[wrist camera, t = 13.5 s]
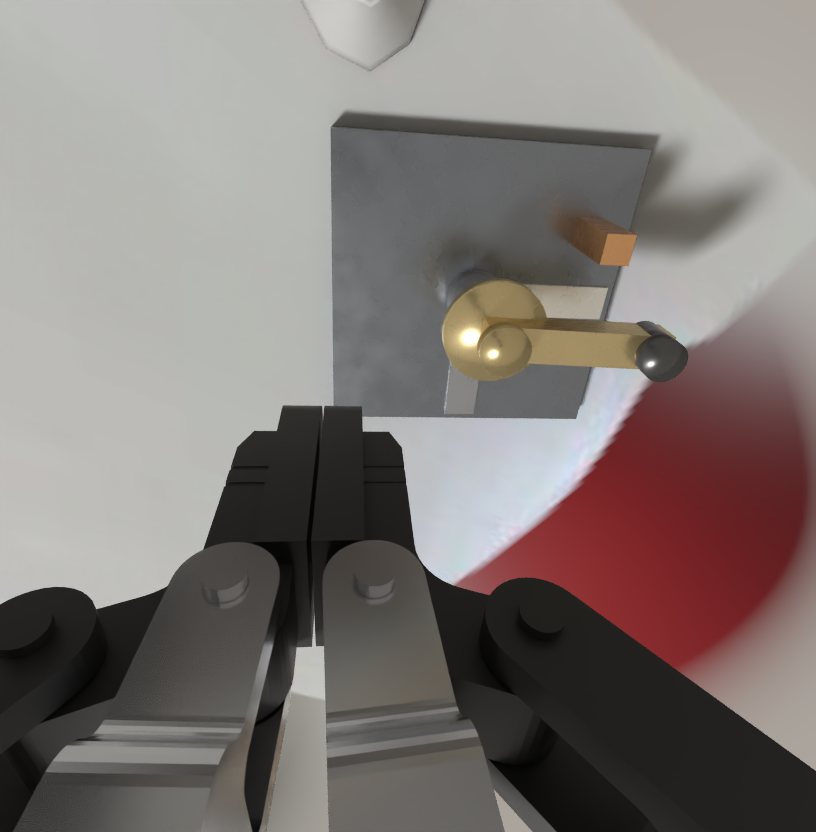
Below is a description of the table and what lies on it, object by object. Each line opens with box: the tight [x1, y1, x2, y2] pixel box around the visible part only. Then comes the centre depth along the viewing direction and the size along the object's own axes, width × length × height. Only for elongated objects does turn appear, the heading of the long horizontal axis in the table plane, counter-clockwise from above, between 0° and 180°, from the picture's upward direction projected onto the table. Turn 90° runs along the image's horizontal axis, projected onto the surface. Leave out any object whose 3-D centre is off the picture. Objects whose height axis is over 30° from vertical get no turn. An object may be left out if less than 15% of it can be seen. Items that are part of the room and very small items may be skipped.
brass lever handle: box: [441, 278, 688, 382], centre depth 34 cm, size 15×7×4 cm, turn 85°
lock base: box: [331, 126, 652, 419], centre depth 38 cm, size 22×22×7 cm
